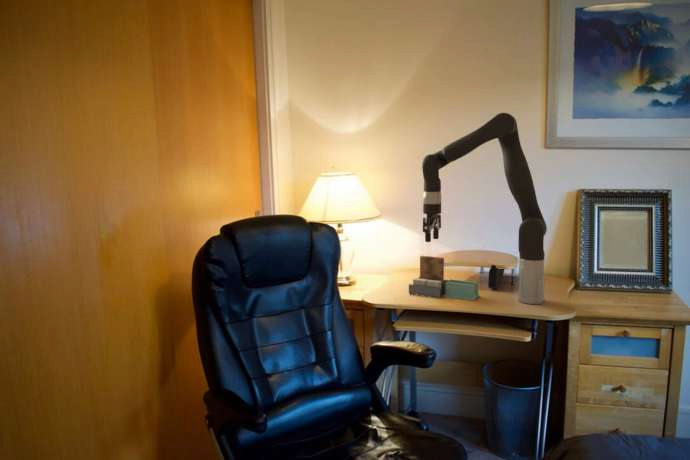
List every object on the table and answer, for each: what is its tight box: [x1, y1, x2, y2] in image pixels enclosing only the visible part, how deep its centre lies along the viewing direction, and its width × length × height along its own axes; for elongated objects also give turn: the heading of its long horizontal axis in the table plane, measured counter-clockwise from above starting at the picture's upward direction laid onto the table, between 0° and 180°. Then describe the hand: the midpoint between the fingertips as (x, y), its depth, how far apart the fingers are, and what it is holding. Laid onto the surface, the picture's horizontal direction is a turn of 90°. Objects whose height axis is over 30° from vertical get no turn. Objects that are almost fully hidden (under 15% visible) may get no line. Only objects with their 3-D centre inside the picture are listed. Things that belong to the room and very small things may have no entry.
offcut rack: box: [408, 276, 450, 299], centre depth 219 cm, size 14×11×5 cm
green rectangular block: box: [444, 278, 480, 302], centre depth 213 cm, size 12×8×6 cm, turn 58°
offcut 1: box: [412, 277, 428, 286], centre depth 219 cm, size 6×3×5 cm, turn 58°
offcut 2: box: [426, 280, 442, 288], centre depth 216 cm, size 6×3×5 cm, turn 58°
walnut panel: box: [419, 255, 445, 282], centre depth 221 cm, size 10×2×14 cm, turn 58°
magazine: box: [487, 264, 505, 289], centre depth 233 cm, size 18×3×31 cm
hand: (432, 240), depth 219 cm, fingers open, 8 cm apart
